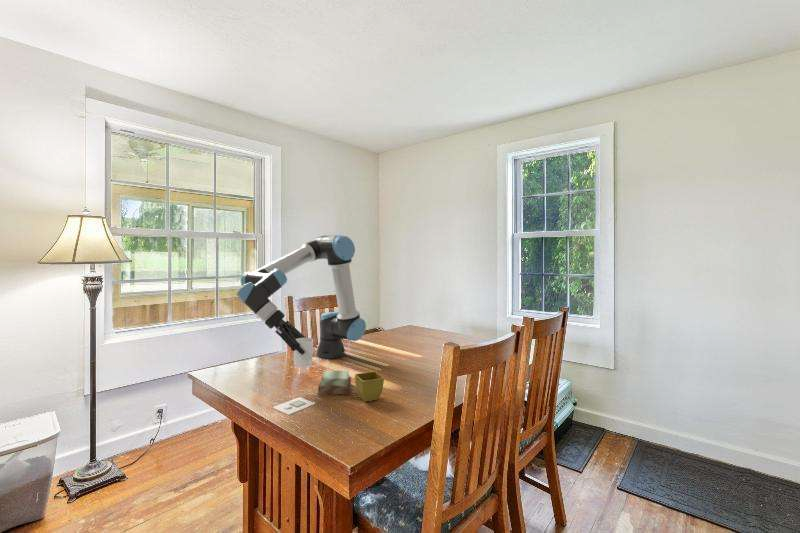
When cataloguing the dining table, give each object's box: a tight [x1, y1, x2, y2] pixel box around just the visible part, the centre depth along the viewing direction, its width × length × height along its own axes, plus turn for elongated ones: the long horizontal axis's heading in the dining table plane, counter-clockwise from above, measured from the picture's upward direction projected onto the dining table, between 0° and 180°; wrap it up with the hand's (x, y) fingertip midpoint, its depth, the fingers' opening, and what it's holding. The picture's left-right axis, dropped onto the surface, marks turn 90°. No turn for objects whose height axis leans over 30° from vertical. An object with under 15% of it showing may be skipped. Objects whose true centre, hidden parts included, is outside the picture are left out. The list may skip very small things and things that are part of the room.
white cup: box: [293, 337, 314, 368], centre depth 147 cm, size 8×8×10 cm
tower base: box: [317, 369, 352, 396], centre depth 148 cm, size 12×12×6 cm
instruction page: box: [271, 396, 316, 416], centre depth 131 cm, size 12×9×1 cm
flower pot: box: [354, 370, 385, 403], centre depth 139 cm, size 9×9×9 cm
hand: (311, 355), depth 147 cm, fingers closed on white cup, 8 cm apart
